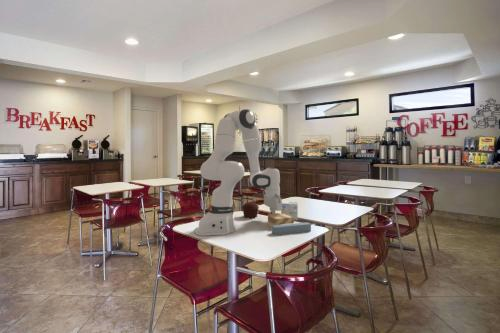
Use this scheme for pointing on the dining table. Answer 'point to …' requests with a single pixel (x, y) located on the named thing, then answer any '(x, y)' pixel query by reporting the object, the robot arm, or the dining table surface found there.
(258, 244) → the dining table surface
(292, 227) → the blue-grey bar
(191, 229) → the dining table surface
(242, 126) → the robot arm
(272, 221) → the oak block
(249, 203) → the muffin
